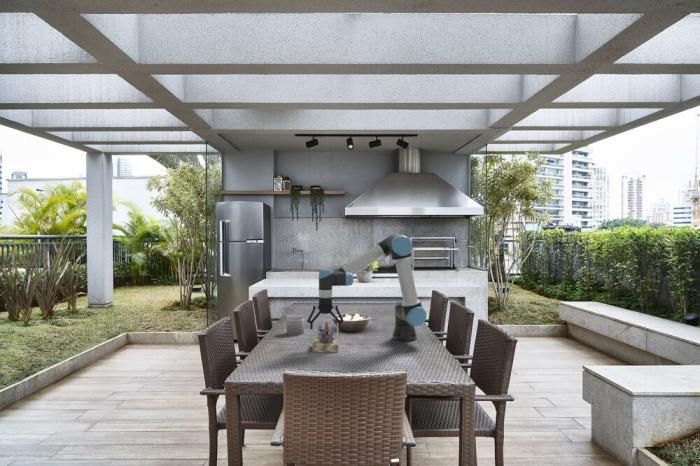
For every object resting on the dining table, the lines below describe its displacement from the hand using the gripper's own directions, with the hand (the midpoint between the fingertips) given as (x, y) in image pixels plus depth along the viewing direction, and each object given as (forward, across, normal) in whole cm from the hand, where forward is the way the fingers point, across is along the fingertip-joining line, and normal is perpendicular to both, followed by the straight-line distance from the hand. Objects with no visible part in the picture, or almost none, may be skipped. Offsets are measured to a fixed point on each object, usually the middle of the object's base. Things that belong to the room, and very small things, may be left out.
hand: (325, 335), depth 268 cm
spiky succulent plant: (+4, 0, -1) cm, 4 cm away
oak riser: (+8, 0, 0) cm, 8 cm away
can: (+8, +19, -43) cm, 48 cm away
